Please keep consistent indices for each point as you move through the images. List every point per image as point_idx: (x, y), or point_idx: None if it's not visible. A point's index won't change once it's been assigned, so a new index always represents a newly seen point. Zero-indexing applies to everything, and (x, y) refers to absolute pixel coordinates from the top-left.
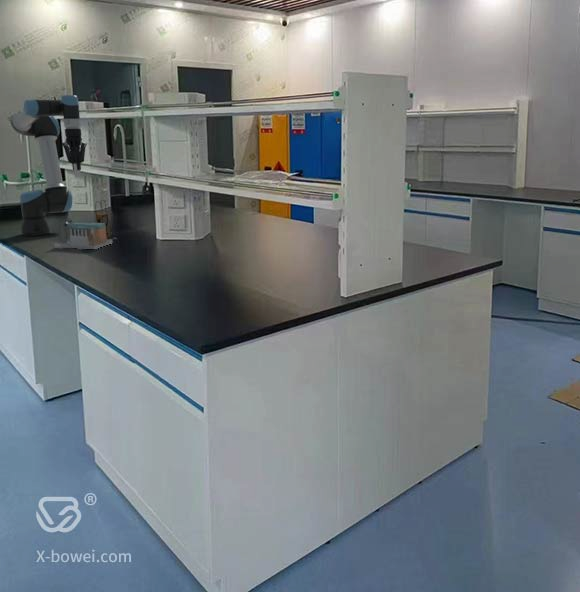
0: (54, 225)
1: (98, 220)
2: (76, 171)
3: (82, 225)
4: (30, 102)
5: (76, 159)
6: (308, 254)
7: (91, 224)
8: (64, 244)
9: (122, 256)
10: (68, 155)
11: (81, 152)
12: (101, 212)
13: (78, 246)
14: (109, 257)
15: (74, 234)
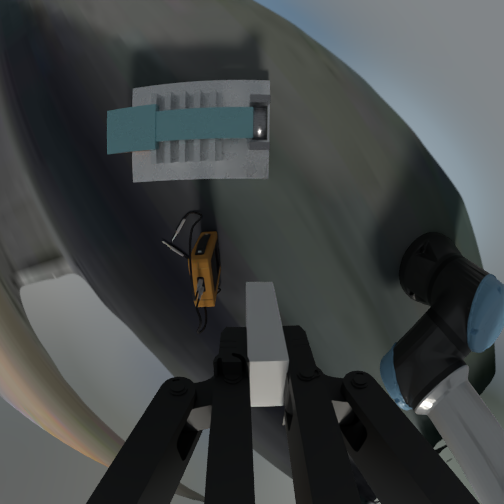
0: None
1: (200, 247)
2: (249, 307)
3: (175, 110)
4: None
5: (234, 408)
6: None
7: (136, 113)
8: (233, 80)
9: (50, 68)
10: (386, 441)
11: (109, 489)
12: (198, 281)
13: (184, 82)
14: (70, 47)
15: (202, 92)
